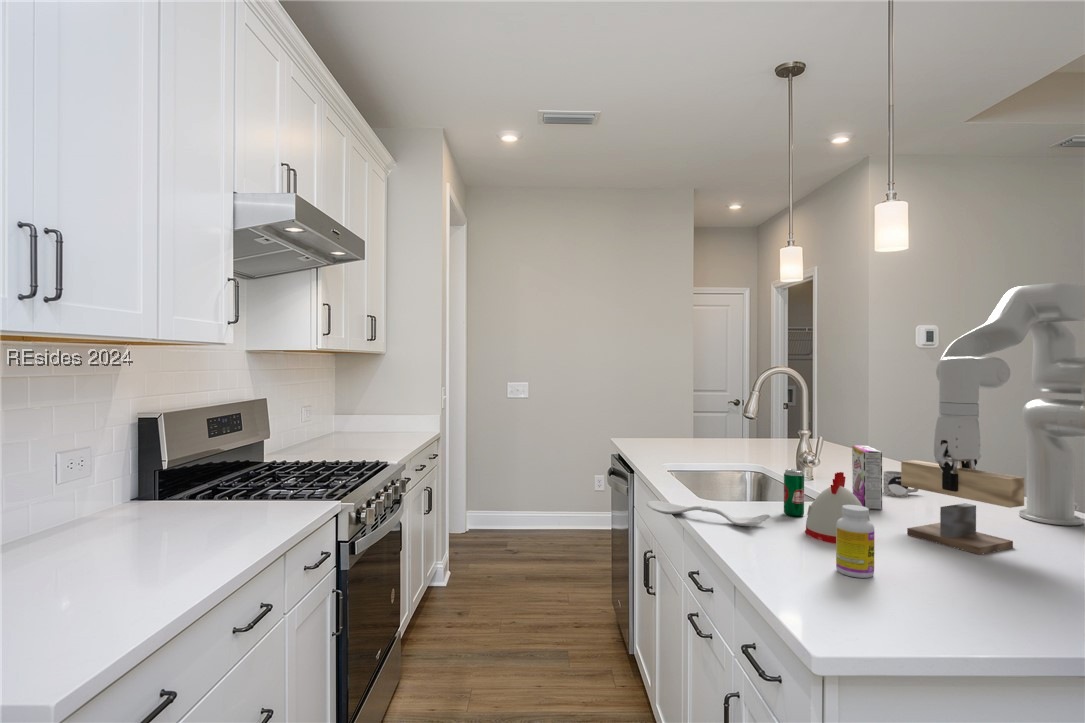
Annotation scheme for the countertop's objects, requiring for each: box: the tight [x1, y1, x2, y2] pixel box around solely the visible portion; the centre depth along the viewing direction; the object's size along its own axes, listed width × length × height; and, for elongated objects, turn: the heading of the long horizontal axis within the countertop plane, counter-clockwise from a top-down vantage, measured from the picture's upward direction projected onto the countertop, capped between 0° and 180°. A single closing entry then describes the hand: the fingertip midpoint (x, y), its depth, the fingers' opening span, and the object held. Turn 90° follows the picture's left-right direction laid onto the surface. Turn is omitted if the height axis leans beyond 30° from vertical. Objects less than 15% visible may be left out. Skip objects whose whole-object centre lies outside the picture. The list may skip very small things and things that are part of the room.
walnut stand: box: [906, 502, 1014, 555], centre depth 137 cm, size 12×16×8 cm
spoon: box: [646, 500, 771, 527], centre depth 156 cm, size 9×32×4 cm, turn 51°
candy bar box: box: [851, 444, 883, 510], centre depth 170 cm, size 11×5×16 cm, turn 168°
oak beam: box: [900, 459, 1025, 509], centre depth 137 cm, size 5×24×6 cm, turn 24°
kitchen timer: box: [805, 471, 871, 544], centre depth 141 cm, size 14×14×15 cm
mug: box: [882, 470, 920, 497], centre depth 184 cm, size 10×7×7 cm
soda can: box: [783, 468, 805, 518], centre depth 159 cm, size 5×5×12 cm
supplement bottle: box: [835, 505, 875, 579], centre depth 116 cm, size 7×7×13 cm
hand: (957, 488), depth 137 cm, fingers closed on oak beam, 5 cm apart
